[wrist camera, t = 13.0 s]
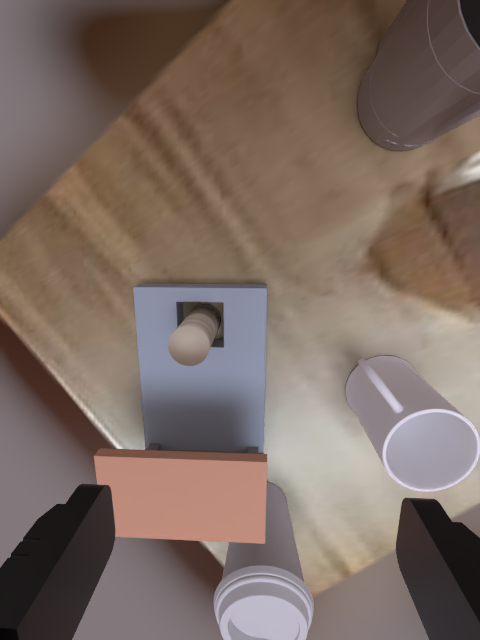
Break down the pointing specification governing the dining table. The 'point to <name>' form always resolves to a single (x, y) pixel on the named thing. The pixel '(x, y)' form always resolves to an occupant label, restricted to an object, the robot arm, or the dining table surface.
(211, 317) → the peg
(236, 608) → the coffee cup
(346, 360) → the dining table surface
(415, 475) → the mug
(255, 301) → the socket board
